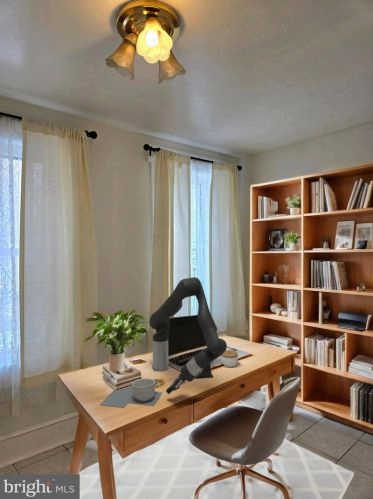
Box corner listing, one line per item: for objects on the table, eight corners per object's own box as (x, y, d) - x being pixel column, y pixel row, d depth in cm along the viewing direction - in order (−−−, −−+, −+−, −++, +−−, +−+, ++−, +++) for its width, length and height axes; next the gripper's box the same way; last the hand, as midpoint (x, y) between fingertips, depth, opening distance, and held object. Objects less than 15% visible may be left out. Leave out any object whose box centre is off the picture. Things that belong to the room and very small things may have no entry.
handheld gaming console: (195, 377, 173) (194, 359, 179) (191, 381, 179) (190, 363, 185) (214, 378, 176) (213, 360, 182) (210, 381, 182) (208, 364, 188)
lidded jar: (216, 364, 195) (216, 349, 195) (229, 360, 201) (229, 346, 201) (229, 370, 186) (229, 354, 186) (241, 366, 193) (241, 350, 193)
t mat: (119, 384, 169) (119, 383, 169) (164, 388, 163) (164, 388, 163) (99, 404, 147) (99, 404, 147) (151, 411, 142) (151, 410, 142)
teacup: (139, 406, 145) (138, 389, 145) (128, 397, 154) (128, 380, 154) (164, 397, 154) (164, 381, 153) (153, 389, 162) (153, 373, 162)
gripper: (189, 357, 156) (165, 380, 158) (183, 368, 143) (158, 392, 146) (200, 369, 155) (176, 391, 157) (195, 381, 142) (169, 405, 145)
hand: (167, 392), depth 151 cm, fingers closed
